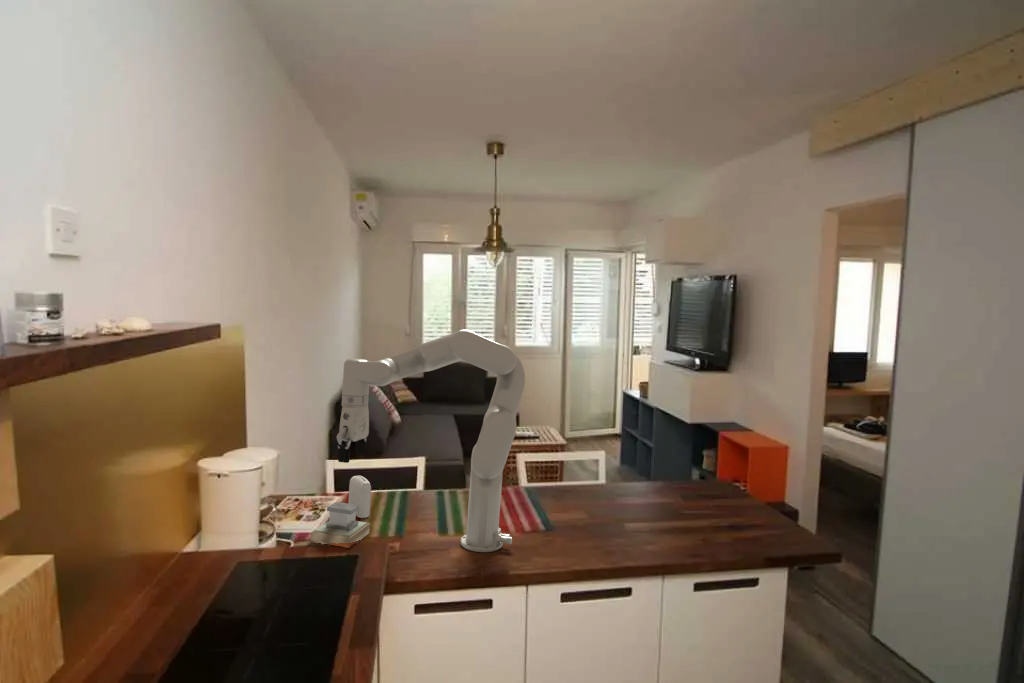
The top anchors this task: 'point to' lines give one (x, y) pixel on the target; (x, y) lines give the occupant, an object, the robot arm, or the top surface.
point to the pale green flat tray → (339, 534)
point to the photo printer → (360, 495)
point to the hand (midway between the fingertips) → (352, 458)
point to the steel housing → (342, 516)
